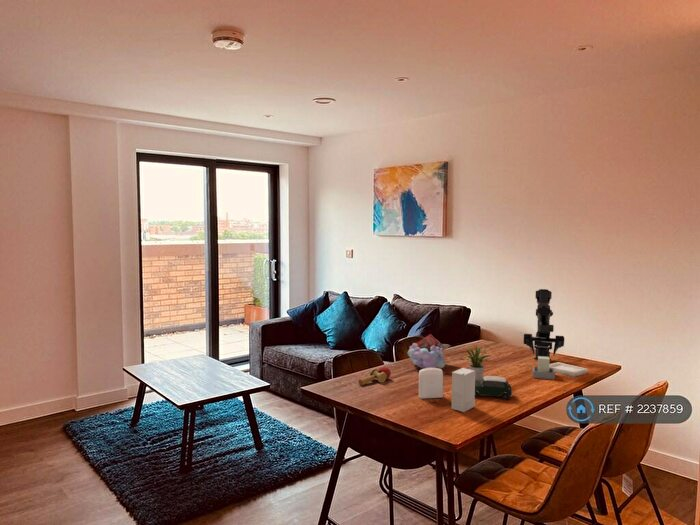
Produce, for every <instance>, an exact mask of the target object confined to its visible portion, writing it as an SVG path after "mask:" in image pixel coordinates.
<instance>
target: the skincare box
mask: <svg viewBox="0 0 700 525" xmlns="http://www.w3.org/2000/svg"><path fill="white" fill-rule="evenodd" d="M451 373H452V375H451V407H450V408H451V410H456V411H458V412H462V413H466V412H467V411H469V410H471V409H473V408H475V401H476V399H475V371H474V370H470V369H469V368H465V367H462V368H459V369H456V370H455V371H452V372H451Z"/></svg>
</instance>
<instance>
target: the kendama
mask: <svg viewBox="0 0 700 525" xmlns="http://www.w3.org/2000/svg"><path fill="white" fill-rule="evenodd" d="M391 374H392V373H391V370H390V368H389V367H387V366H380V368H379V369H377V368H372V369H371V370H370V372H369V376H366V377H362V378H360V379H358V384H359V385H360V386H361V387H362V386H364V385H366V384H368V383H370V382H372V381H373V380H375V379H377V381H378V382H379V383H384V382H386V381H387V380H388V379H390V378H391Z"/></svg>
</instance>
